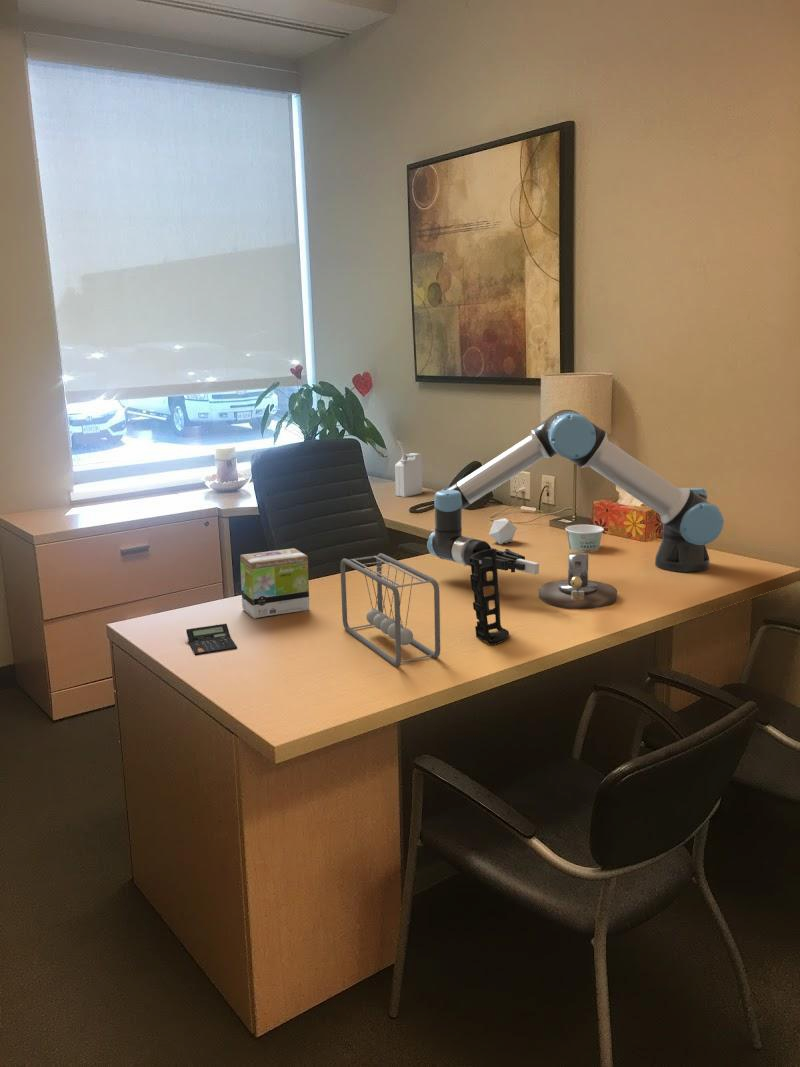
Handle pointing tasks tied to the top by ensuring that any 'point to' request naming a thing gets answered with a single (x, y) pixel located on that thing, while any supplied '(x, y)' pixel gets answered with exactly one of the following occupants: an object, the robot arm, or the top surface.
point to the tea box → (274, 582)
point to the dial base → (578, 596)
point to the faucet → (578, 575)
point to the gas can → (408, 474)
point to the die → (502, 531)
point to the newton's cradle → (382, 620)
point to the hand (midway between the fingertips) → (536, 568)
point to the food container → (584, 537)
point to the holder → (486, 598)
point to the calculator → (210, 639)
